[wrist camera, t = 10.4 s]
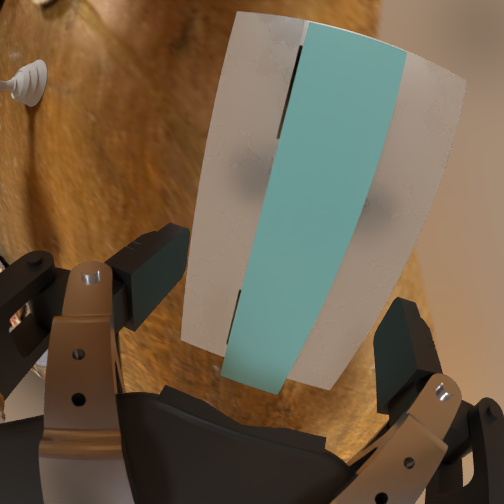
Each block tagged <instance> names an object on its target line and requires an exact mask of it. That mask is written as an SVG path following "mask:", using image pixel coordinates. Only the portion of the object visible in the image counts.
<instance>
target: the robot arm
mask: <svg viewBox="0 0 504 504" xmlns="http://www.w3.org/2000/svg"><path fill="white" fill-rule="evenodd" d="M189 236H190V232H189V229H188V228H185V227H182V226H179V225H176V224H172V223H169V224H167V225H166V226H164V227H163V228H162V229H160V230H159V231H157V232H156V231H153V232H149V233H146V234H143V235H141V236H140V237H138V238H137V239H136V240H134V242H131V243H130V244H129V245H127V247H124V248H123V249H122V250H120V251H119V252H117V253H116V254H115V255H113V256H112V257H111V258H109V259H108V260H107V261H105V262H104V263H102V262H98V261H87V262H83V263H80V264H78V265H76V266H75V267H74V268H73V269H72V270H66V269H61V268H56V267H55V265H54V259H53V256H52V255H51V254H50V253H49V252H46V251H33V252H30V253H27V254H25V255H24V256H22V257H21V258H19V259H18V260H17V261H15V262H14V263H13V264H11V265H10V266H8V267H7V268H6V269H4V270H3V271H2V272H0V504H415V502H416V501H417V500H418V498H419V497H420V495H421V494H422V492H423V491H424V489H425V488H426V495H425V504H504V415H503V412H502V410H501V408H500V406H499V405H498V404H497V403H496V402H495V401H494V400H493V399H491V398H483V399H481V400H480V401H479V402H478V403H477V404H476V405H475V406H473V405H471V404H469V403H467V402H465V401H463V400H462V395H461V391H460V389H459V387H458V385H457V384H456V382H455V381H454V380H453V379H451V378H450V377H449V376H447V375H445V374H443V372H442V369H441V365H440V361H439V358H438V354H437V351H436V349H435V344H434V341H433V340H432V339H433V338H432V335H431V332H430V329H429V327H428V326H427V324H426V323H425V321H424V320H423V319H422V318H421V317H420V314H419V311H418V308H417V305H416V303H415V302H412V301H409V300H406V299H403V298H400V297H397V298H396V299H395V300H394V301H393V302H392V304H391V306H390V308H389V309H388V311H387V313H386V315H385V316H384V318H383V320H382V321H381V323H380V325H379V326H378V328H377V330H376V332H375V336H374V341H373V345H374V357H375V371H376V391H377V413H381V414H387V415H389V420H388V421H387V422H386V423H385V424H384V425H383V426H382V427H381V428H380V429H379V430H378V432H377V433H376V434H375V435H374V436H373V437H372V438H371V439H370V440H369V441H368V443H367V444H366V445H365V446H364V447H363V448H362V449H361V450H360V451H359V452H358V453H357V454H356V455H355V456H354V457H353V458H352V459H351V460H349V461H348V462H347V463H345V462H344V461H343V460H342V459H340V458H339V457H338V456H336V455H335V454H333V453H331V452H330V451H328V450H326V449H325V443H326V437H322V436H317V435H312V434H308V433H304V432H300V431H296V430H292V429H288V428H268V427H255V426H245V425H242V424H239V423H237V422H236V421H234V420H233V419H231V418H229V417H228V416H226V415H224V414H223V413H221V412H220V411H218V410H217V409H215V408H214V407H212V406H211V405H209V404H208V403H206V402H205V401H202V400H200V399H197V398H195V397H193V396H190V395H188V394H185V393H183V392H181V391H178V390H176V389H174V388H172V387H169V386H167V385H165V387H164V388H163V390H162V392H161V393H160V394H155V393H147V392H130V393H126V391H125V385H124V379H123V371H122V361H121V350H120V337H119V331H120V330H121V329H122V328H123V327H126V328H128V329H130V330H132V331H134V332H135V331H136V330H137V328H138V327H139V326H140V325H141V324H142V323H143V321H144V320H145V319H146V318H147V317H148V316H149V314H150V313H151V312H152V311H153V310H154V309H155V308H156V306H157V305H158V304H159V303H160V302H161V301H162V300H163V298H164V297H165V296H166V295H167V294H168V293H169V292H170V290H171V289H172V288H173V287H174V286H175V285H176V284H177V283H178V281H179V280H180V279H181V278H182V276H183V274H184V271H185V268H186V262H187V253H188V244H189ZM26 303H28V306H29V309H30V312H31V313H30V314H29V315H27V316H26V317H25V318H24V319H23V320H22V321H21V322H20V323H19V324H18V325H17V326H16V327H15V328H14V329H13V330H12V331H11V332H9V328H8V326H9V321H10V319H11V317H12V316H13V315H14V314H15V313H16V312H17V311H18V310H19V309H21V308H22V307H23V306H24V305H25V304H26ZM47 349H48V356H47V366H46V377H45V393H44V415H40V416H36V417H31V418H26V419H21V420H16V421H11V422H6V423H4V422H5V414H4V412H3V411H4V401H5V400H6V399H7V397H8V396H9V395H10V393H11V392H12V391H13V390H14V388H15V387H16V386H17V385H18V383H19V382H20V381H21V380H22V378H23V377H24V376H25V375H26V374H27V373H28V371H29V370H30V369H31V368H32V367H33V366H34V364H35V363H36V362H37V361H38V360H39V359H40V357H41V356H42V355H43V354H44V353H45V352H46V351H47ZM470 452H473V462H474V475H473V478H472V480H471V481H470V482H469V484H467V485H466V486H464V487H463V472H462V458H463V457H465V456H466V455H467V454H469V453H470Z"/></svg>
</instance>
